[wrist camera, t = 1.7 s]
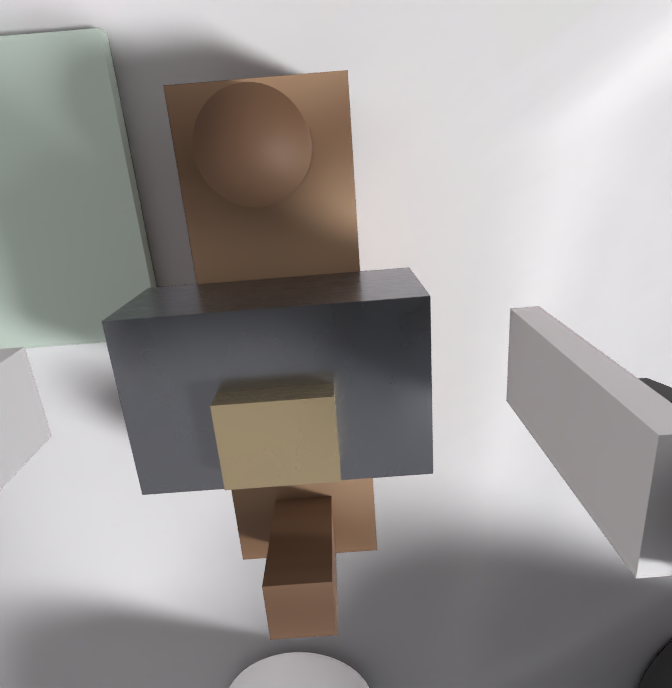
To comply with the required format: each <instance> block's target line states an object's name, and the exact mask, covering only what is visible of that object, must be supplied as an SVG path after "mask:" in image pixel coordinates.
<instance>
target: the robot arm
mask: <svg viewBox="0 0 672 688" xmlns="http://www.w3.org/2000/svg"><path fill="white" fill-rule="evenodd" d="M506 401H507V402H508V403H509V405H510V406H511V408H512V409H513V410H514V412H515V413H516V414H517V416H518V417H519V419H520V420H521V421H522V423H523V424H524V425H525V427H526V428H527V430H528V431H529V432H530V434H531V435H532V436H533V438H534V439H535V440H536V442H537V443H538V445H539V446H540V447H541V449H542V450H543V451H544V453H545V454H546V456H547V457H548V458H549V460H550V461H551V462H552V464H553V465H554V467H555V468H556V469H557V471H558V472H559V473H560V475H561V476H562V478H563V479H564V480H565V482H566V483H567V484H568V486H569V487H570V489H571V490H572V491H573V493H574V494H575V495H576V497H577V498H578V500H579V501H580V502H581V504H582V505H583V506H584V508H585V509H586V511H587V512H588V513H589V515H590V516H591V517H592V519H593V520H594V522H595V523H596V524H597V526H598V527H599V528H600V530H601V531H602V533H603V534H604V535H605V537H606V538H607V539H608V541H609V542H610V544H611V545H612V546H613V548H614V549H615V550H616V552H617V553H618V555H619V556H620V557H621V559H622V560H623V561H624V563H625V564H626V566H627V567H628V568H629V570H630V571H631V572H632V574H633V575H634V577H635V578H636V579H637V578H650V577H663V576H672V388H671V387H669V386H666V385H664V384H661V383H658V382H656V381H653V380H651V379H648V378H639V379H638V378H637V377H635V376H634V375H632V374H631V373H630V372H628V371H627V370H626V369H624V368H623V367H621V366H620V365H619V364H617V363H616V362H615V361H613V360H612V359H611V358H609V357H608V356H606V355H605V354H604V353H602V352H601V351H600V350H598V349H597V348H595V347H594V346H593V345H591V344H590V343H589V342H587V341H586V340H584V339H583V338H582V337H580V336H579V335H578V334H576V333H575V332H573V331H572V330H571V329H569V328H568V327H567V326H565V325H564V324H563V323H561V322H560V321H558V320H557V319H556V318H554V317H553V316H552V315H550V314H549V313H547V312H546V311H545V310H543V309H542V308H541V307H539V306H537V307H524V308H511V309H510V330H509V354H508V377H507V400H506ZM50 437H51V432H50V429H49V426H48V422H47V419H46V416H45V413H44V409H43V406H42V403H41V399H40V396H39V393H38V390H37V386H36V383H35V380H34V376H33V373H32V370H31V367H30V363H29V360H28V357H27V353H26V350H25V347H17V348H5V349H0V490H1V489H2V488H3V487H4V486H5V485H6V484H7V483H8V482H9V481H10V479H11V478H12V477H13V476H14V475H15V474H16V473H17V472H18V471H19V470H20V469H21V468H22V467H23V466H24V465H25V464H26V463H27V462H28V461H29V459H30V458H31V457H32V456H33V455H34V454H35V453H36V452H37V451H38V450H39V449H40V448H41V447H42V446H43V445H44V444H45V443H46V442H47V440H48V439H49V438H50ZM638 688H672V641H671V642H670V643H669V644H668V645H667V646H666V647H665V648H664V649H663V650H662V651H661V652H660V654H659V655H658V656H657V657H656V658H655V660H654V661H653V662H652V664H651V665H650V666H649V668H648V669H647V671H646V673H645V674H644V676H643V678H642V680H641V682H640V684H639V687H638Z"/></svg>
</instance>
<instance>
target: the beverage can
mask: <svg viewBox="0 0 672 688" xmlns="http://www.w3.org/2000/svg"><path fill="white" fill-rule="evenodd" d="M229 688H369V686H368V684H367V683H366V681H365V680H364V679H363V678H362V677H361V675H360V674H359V673H357V672H356V671H355V670H354V669H353V668H351V667H350V666H348V665H346V664H345V663H343V662H341V661H339V660H337V659H334V658H331V657H328V656H325V655H321V654H316V653H307V652H291V653H283V654H278V655H274V656H270V657H267V658H265V659H262V660H260V661H258V662H256V663H254V664H252V665H251V666H249V667H248V668H246V669H245V670H244V671H242V672H241V673H240V674H239V675H238V676H237V677H236V679H235V680H234V681H233V682H232V684H231V686H230V687H229Z"/></svg>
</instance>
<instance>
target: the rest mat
mask: <svg viewBox="0 0 672 688" xmlns="http://www.w3.org/2000/svg"><path fill="white" fill-rule="evenodd" d="M153 287H156V282H155V277H154V272H153V267H152V261H151V256H150V251H149V246H148V241H147V236H146V231H145V226H144V220H143V215H142V210H141V205H140V200H139V195H138V190H137V184H136V179H135V174H134V169H133V164H132V159H131V154H130V149H129V143H128V138H127V133H126V128H125V123H124V118H123V113H122V107H121V102H120V97H119V92H118V87H117V82H116V77H115V72H114V66H113V61H112V56H111V51H110V46H109V41H108V36H107V32H106V31H104V30H103V29H101V28H91V29H79V30H67V31H55V32H44V33H32V34H20V35H8V36H0V349H5V348H17V347H25V348H35V347H48V346H61V345H74V344H87V343H100V342H106V338H105V334H104V330H103V326H102V321H103V320H104V319H105V318H107V317H108V316H110V315H111V314H112V313H114V312H115V311H117V310H118V309H119V308H121V307H122V306H124V305H125V304H126V303H128V302H129V301H131V300H132V299H133V298H135V297H136V296H138V295H139V294H140V293H142V292H143V291H145V290H146V289H147V288H153Z"/></svg>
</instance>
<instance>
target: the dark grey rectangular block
mask: <svg viewBox="0 0 672 688" xmlns="http://www.w3.org/2000/svg"><path fill="white" fill-rule="evenodd" d="M102 326H103V330H104V334H105V338H106V343H107V347H108V351H109V355H110V359H111V364H112V368H113V372H114V376H115V381H116V385H117V389H118V393H119V398H120V402H121V406H122V410H123V415H124V419H125V423H126V427H127V432H128V436H129V440H130V444H131V448H132V453H133V457H134V461H135V465H136V470H137V474H138V478H139V482H140V487H141V491H142V495H146V494H160V493H174V492H187V491H201V490H215V489H225V490H233V489H247V488H261V487H274V486H288V485H302V484H315V483H329V482H341V480H351V479H365V478H378V477H392V476H406V475H419V474H433V435H432V374H431V312H430V295H429V294H428V292H427V291H426V290H425V288H424V287H423V285H422V284H421V283H420V281H419V280H418V279H417V277H416V276H415V275H414V273H413V272H412V271H411V269H410V268H397V269H384V270H371V271H358V272H345V273H332V274H320V275H307V276H294V277H281V278H268V279H256V280H243V281H230V282H217V283H204V284H191V285H179V286H166V287H153V288H147V289H146V290H145V291H143V292H142V293H140V294H139V295H138V296H136V297H135V298H133V299H132V300H131V301H129V302H128V303H126V304H125V305H124V306H122V307H121V308H119V309H118V310H117V311H115V312H114V313H112V314H111V315H110V316H108V317H107V318H105V319H104V320H103V321H102Z"/></svg>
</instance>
